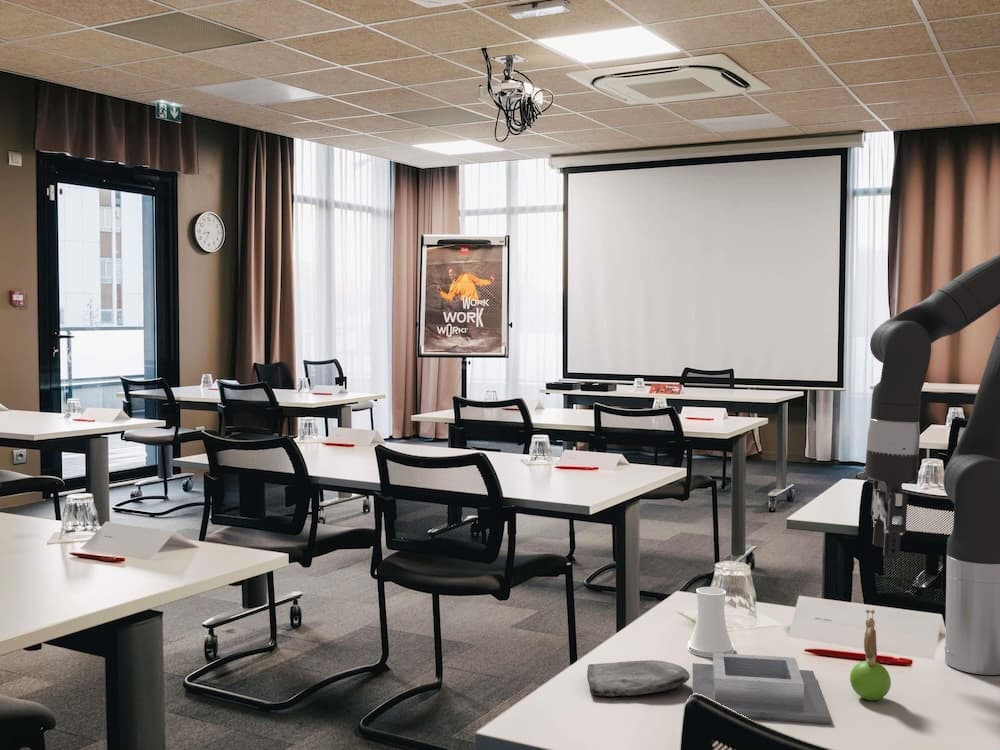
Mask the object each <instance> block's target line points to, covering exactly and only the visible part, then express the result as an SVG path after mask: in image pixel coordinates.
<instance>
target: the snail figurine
mask: <svg viewBox="0 0 1000 750" xmlns="http://www.w3.org/2000/svg"><path fill="white" fill-rule="evenodd" d="M865 612H866V614H867V617H866V618H867V619H865V627H866V628H865V633H864V637H863V649H864V650H863V651H864V654H865V660H863V661H860V662H858V663H857V664H856V665H855V666H854V667H853V668H852V669H851V672H850V676H849V680H850V685H851V688H852V690H853V691H854V692H855V693H856V695H857V696H859V697H860V698H862V699H865V700H866V701H867V700H868V701H877V700H880V699H883V698H884V697H885V696H887V694H888V693H889V691H890V690H891V685H892V683H891V682H892V679H891V676H890V673H889V672H888V670H887V668H885V666H883V665H882V664H881V663H879V662H877V661H876V658H877V656H878V650H877V631H876V629H875V625H876V622H875V620H874V614H875V613H876V612H875V610H874V609H871V610H870V609H866V610H865ZM869 614H872V615H871V616H872V617H869Z"/></svg>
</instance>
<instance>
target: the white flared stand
mask: <svg viewBox="0 0 1000 750" xmlns="http://www.w3.org/2000/svg"><path fill="white" fill-rule="evenodd" d="M695 590H696V591H695V592H696V598H697V599H696V600H697V601H696V602H697V606H696V607H697V613H696V620H695V623H694V624H695V625H694V629H693V632H692V635H691V638H690V639H689V640H688V641H687V650H688V652H689V653H691V654H693V655H696V656H699V657H705V658H713V653H725V654H735V644H733V642H732V641H731V639H730V635H729V632H728V628H727V624H726V623H727V622H726V614H725V605H726V604H725V603H726V594H727V590H726V589H723V588H721V587H717V586H716V587H714V586H702V587H698V588H696V589H695Z"/></svg>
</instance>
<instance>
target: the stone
mask: <svg viewBox="0 0 1000 750" xmlns="http://www.w3.org/2000/svg"><path fill="white" fill-rule="evenodd" d="M586 676H587V677H586V679H587V681H588V685H589V687H590V692H591V694H592V695H593V696H595V697H596V696H597V697H602V696H603V697H605V696H606V697H611V698H612V697H618V696H628V697H629V696H638V695H646V694H653V693H662V692H665V691H669V690H672V689H676V688H678V687H680V686H682V685H683V684H686V683H687V682H688V681H689V680H690V677H691V675H690V673H689V671H688V670H687V669H686V668H684V667H682V666H681V665H678V664H675V663H672V662H668V661H662V660H655V659H654V660H653V659H652V660H630V661H629V660H628V661H627V660H626V661H617V662H603V663H589V664H588V665H587V670H586Z"/></svg>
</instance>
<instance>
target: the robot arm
mask: <svg viewBox="0 0 1000 750" xmlns="http://www.w3.org/2000/svg"><path fill="white" fill-rule="evenodd" d="M999 305H1000V254H998V255H996V256H994V257H992V258H990V259H988V260H985V261H984V262H982V263H979V264H977V265H976V266H973V267H972V268H970V269H968V270H965V272H963V273H961V274H960V275H958V276H956V277H955V278H952V280H950V281H949V282H947V283H946V284H945V285H943V286H941V287H940V288H939V289H937V290H935V291H934V292H933V293H932V294H930V295H929V296H928V297H926V298H925V299H924V300H922V301H920V302H918V303H917V304H914V305H912V306H911V307H909V308H907V309H904V310H903V311H901V312H899V313H897V314H895V315H894V316H892V317H890V318H889V319H887V320H885V321H883V322H882V323H881V324H880V325H879V326H878V327H877V328H876V329H875V330H874V331H873V333H872V335H871V338H870V342H869V344H870V345H869V348H870V352H871V353H872V355H873V357H874V358H875V359H876V360H878V361H879V362H880V363H882V368H881V375H880V376H881V377H880V380H879V382H878V383H876V384H875V385H874V388H873V389H872V396H871V409H870V420H869V425H868V431H867V440H866V441H867V442H866V454H865V455H866V456H865V468H864V475H865V476H866V478H868V479H870V480H873V481H872V495H871V496H872V497H871V509H870V515H871V516H872V522H873V535H872V544H873V545H874V547H880V548H883V551H882V555H883V557H884V558H885V559H888V560H889V559H890V560H899V558H900V555H901V553H900V551H901V539H902V536H903V535H904V534H906V531H907V518H908V517H907V516H908V515H907V514H908V499H909V495H908V493H907V492H903V484H905V483H906V484H909V483H910V484H911V483H914V482H916V481H917V479H918V468H919V457H920V456H919V455H920V453H919V451H920V440H921V435H920V434H921V433H920V414H921V395H922V391H923V390H922V389H923V387H924V385H925V383H926V377H927V373H928V371H929V367H930V362H931V357H932V356H931V355H932V343H934V342H936V341H937V340H940V339H941V338H945V337H947V336H951V335H955V334H957V333H959V332H961V331H962V330H964V329H965V328H967V327H969V325H971V324H973V323H974V322H975V321H977V320H979V319H980V318H982V317H983V316H984V315H986V314H987V313H989V312H990V311H991V310H993V309H995V308H996V307H998V306H999ZM992 344H993V345H992V346H991V349H990V353H989V355H988V358H987V361H986V365H985V367H984V372H983V374H982V377H981V380H980V383H979V386H978V389H977V392H976V395H975V399H974V403H973V406H972V409H971V411H970V412H971V413H970V416H969V418H968V421H967V424H966V426H965V428H964V430H963V431H962V432H963V433H962V434H961V436H960V438H959V441H958V443H957V444H956V447H955V449H954V451H953V453H952V455H951V456H950V458H949V461H948V463H947V465H946V467H945V469H944V473H943V480H942V482H943V488H944V492H945V494H946V496H947V497H948V499H949V500H950V501H951V502H952V503H953V505H954V506H953V522H952V523H953V524H952V525H953V526H952V532H951V534H950V535H949V536H948V538H947V541H946V576H945V577H946V578H945V579H946V580H945V581H946V582H945V584H946V586H945V588H946V589H945V637H944V638H945V643H944V644H945V645H944V661H945V663H946V665H948V666H949V667H951V668H953V669H956V670H958V671H962V672H966V673H970V674H975V675H976V674H977V675H985V676H986V675H987V676H998V675H1000V327H999V329H998V330H997V333H996V336H995V339H994V341H993V343H992ZM893 522H895V523H896V524H895V523H893Z"/></svg>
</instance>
